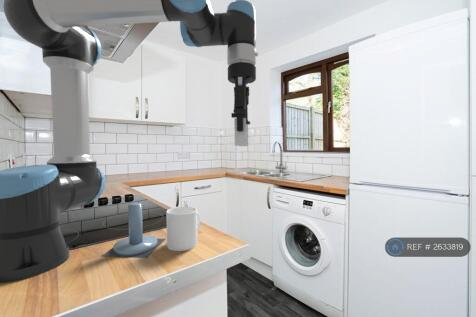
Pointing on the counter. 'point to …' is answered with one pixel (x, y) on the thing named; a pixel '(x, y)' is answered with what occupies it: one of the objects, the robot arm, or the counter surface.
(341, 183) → the counter surface
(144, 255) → the mat
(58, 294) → the counter surface
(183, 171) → the counter surface
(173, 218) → the mug
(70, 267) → the counter surface
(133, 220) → the lid
